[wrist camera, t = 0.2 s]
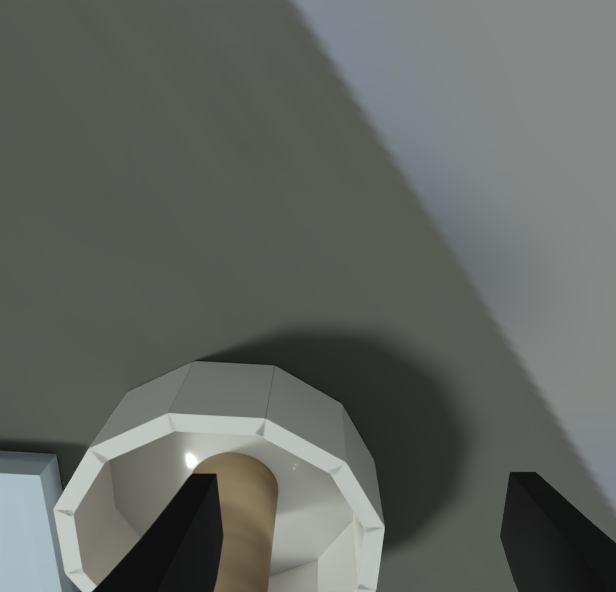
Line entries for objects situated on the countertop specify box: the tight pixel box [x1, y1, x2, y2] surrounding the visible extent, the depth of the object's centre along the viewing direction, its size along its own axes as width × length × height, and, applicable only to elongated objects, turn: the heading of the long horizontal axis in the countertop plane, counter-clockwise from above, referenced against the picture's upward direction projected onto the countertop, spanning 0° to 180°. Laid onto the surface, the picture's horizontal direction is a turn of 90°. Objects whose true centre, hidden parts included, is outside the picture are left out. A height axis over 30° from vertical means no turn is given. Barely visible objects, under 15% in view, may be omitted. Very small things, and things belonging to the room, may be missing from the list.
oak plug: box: [192, 453, 278, 592], centre depth 21 cm, size 4×4×6 cm
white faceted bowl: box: [53, 361, 385, 592], centre depth 22 cm, size 14×14×4 cm
